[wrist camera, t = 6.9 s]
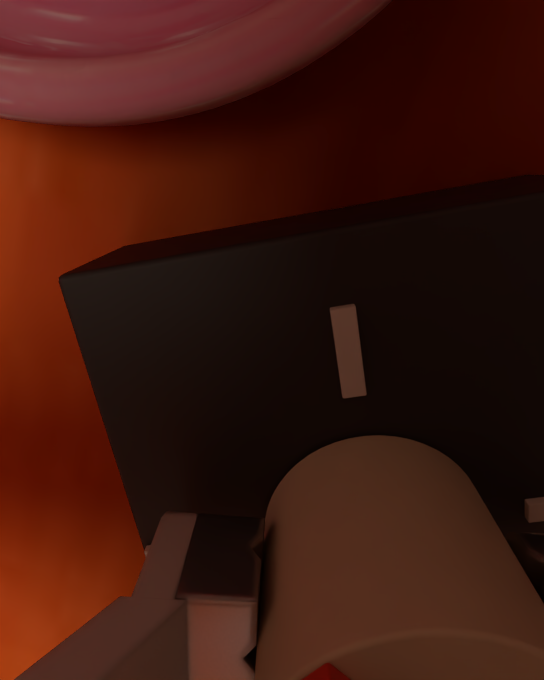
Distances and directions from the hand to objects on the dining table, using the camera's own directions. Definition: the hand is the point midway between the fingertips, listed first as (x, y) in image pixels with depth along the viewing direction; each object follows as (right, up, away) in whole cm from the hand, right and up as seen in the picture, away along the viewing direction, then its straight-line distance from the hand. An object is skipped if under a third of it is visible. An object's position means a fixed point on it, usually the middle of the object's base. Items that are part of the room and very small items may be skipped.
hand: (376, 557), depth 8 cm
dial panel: (0, +1, +4) cm, 4 cm away
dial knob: (0, 0, +1) cm, 1 cm away
